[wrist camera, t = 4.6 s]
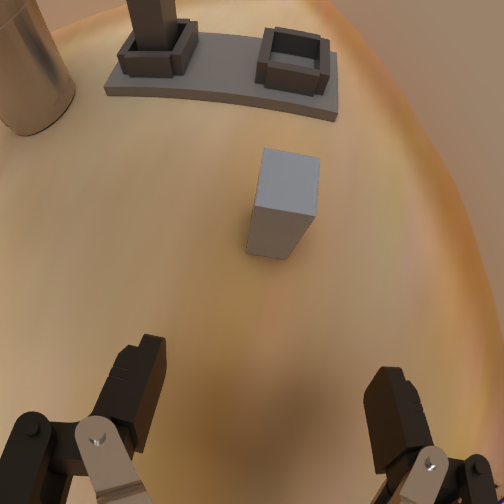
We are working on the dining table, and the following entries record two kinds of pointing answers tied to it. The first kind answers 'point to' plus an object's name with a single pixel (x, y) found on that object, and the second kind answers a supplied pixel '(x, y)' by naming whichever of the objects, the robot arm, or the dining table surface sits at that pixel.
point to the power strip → (224, 64)
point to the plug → (283, 203)
